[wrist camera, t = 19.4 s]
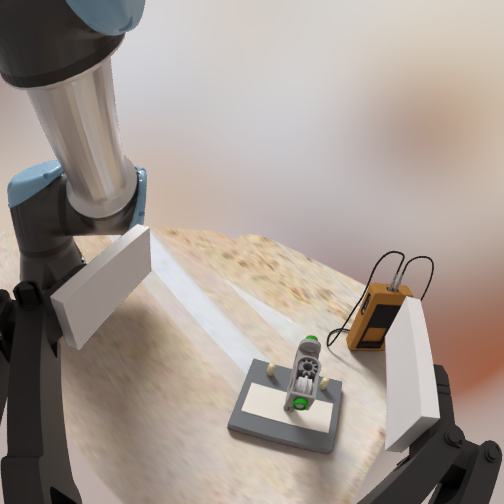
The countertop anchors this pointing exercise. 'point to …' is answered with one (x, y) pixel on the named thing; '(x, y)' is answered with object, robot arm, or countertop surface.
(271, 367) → the board
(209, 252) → the countertop surface
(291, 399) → the mechanical component
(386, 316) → the multimeter
